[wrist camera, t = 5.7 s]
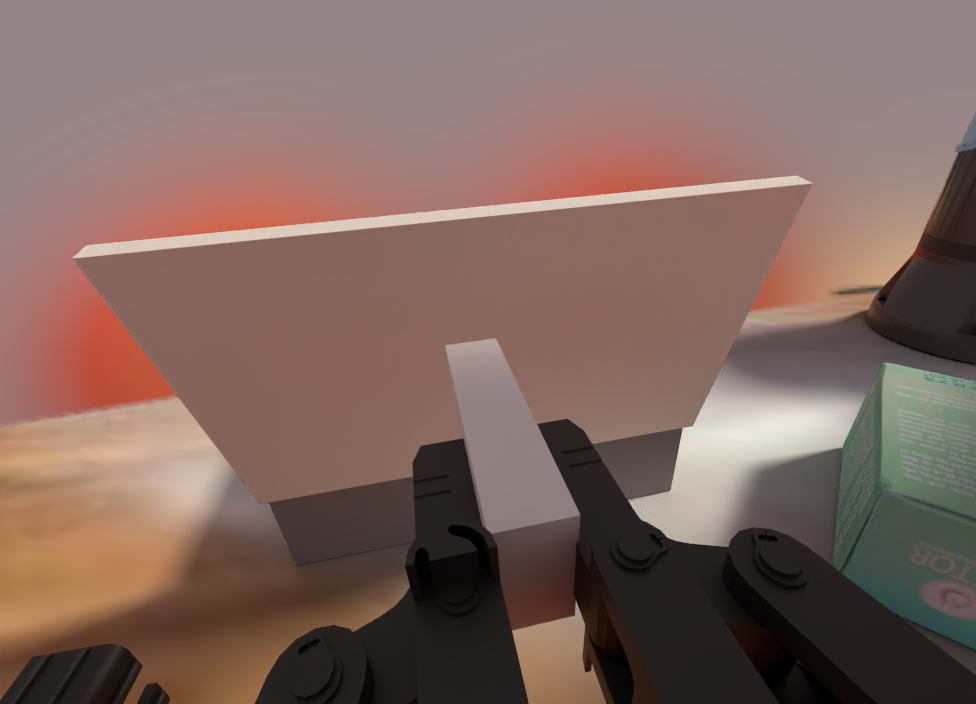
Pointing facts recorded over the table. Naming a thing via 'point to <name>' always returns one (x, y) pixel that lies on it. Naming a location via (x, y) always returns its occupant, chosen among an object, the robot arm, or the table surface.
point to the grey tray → (390, 505)
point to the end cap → (82, 678)
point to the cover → (445, 321)
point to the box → (913, 499)
